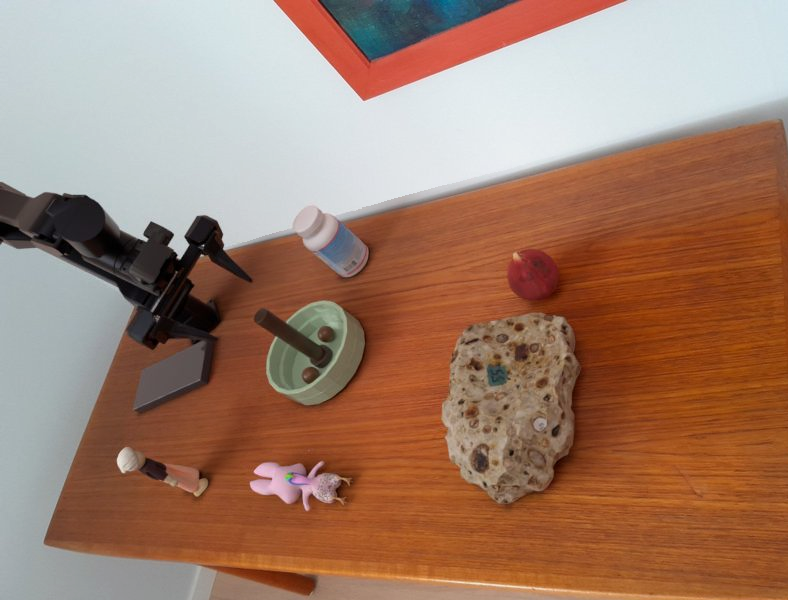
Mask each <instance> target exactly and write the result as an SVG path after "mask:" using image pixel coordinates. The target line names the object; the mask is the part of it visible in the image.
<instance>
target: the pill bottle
mask: <svg viewBox="0 0 788 600" xmlns="http://www.w3.org/2000/svg"><path fill="white" fill-rule="evenodd" d="M292 230H293V232H294V233H296V234H297V236H299V237H301V238H302V243H303V246H305V248H306V249H308V250H309V251H310V252H311V253H312V254H313V255H315V257H317V258H318V259H319V260H321V261H322V262H323V263H324V264H326V266H328V267H329V268H330V269H332V270H333V271H334V272H335V273H336V274H338V275H339V276H340V277H343V278H351V277H353V276H355V275H357V274H358V273H359V272H361V271H362V270H363V269H364V268H365V266H366V264H367V262H368V259H369V254H370V253H369V247H368V246H367V245H366V244H365V242H363V241H362V240H361V239H360V238H359V237H358V236H357V235H356V234H354V233H353V232H352V231H351V230H350V229H349V228H348V227H347V226H346V225H345V224H344V223H343V222H341V220H339V219H338V218H337V217H336V216H335V215H333V214H331V213H328V212H325V213H324V212H323V211H322V210H321V209H320V208H319V207H318V206H316V205H313V204H311V205H307V206H305V207H304V208H303V209H301V210H300V211H299V212H298V213H297V215H296V216H295V218H294V219H293V222H292Z"/></svg>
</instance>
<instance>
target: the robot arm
mask: <svg viewBox="0 0 788 600" xmlns="http://www.w3.org/2000/svg"><path fill="white" fill-rule="evenodd" d="M142 235H143V237H145V238H147V240H146V241H145V240H143V239H141V238H138V237H136V236H134V235H132V234H130V233H128V232H126V231H124V230H122V229H120V226H119V224H117V222H116V221H115V220H114V219H113V217H112V216H111V215H110V214H109V213H108V212H107V211H106V210H105V209H104V207H103V206H102V205H101V204H100V203H99V202H98V201H96V200H95V199H93V198H92V197H90V196H88V195H87V194H71V193H67V192H63V193H62V194H59V193H56V192H52V191H51V192H50V191H44V192H42V193H40V194H38V195H37V196H35V197H32V196H30V195H27V194H26V193H24V192H22V191H20V190H19V189H17V188H14V187H13V186H11V185H9V184H7V183H5V182H3V181H0V246H1V245H2V244H3V243H4V244H5V245H7V246H10V247H12V248H14V249H16V250H23V249H24V250H25V249H27V250H28V249H38V250H41V251H43V252H44V253H47V254H49V255H51V256H53V257H55V258H57V259H59V260H61V261H63V262H65V263H67V264H69V265H72V266H73V267H75V268H77V269H80V270H81V271H84V272H86V273H88V274H90V275H92V276H94V277H96V278H98V279H100V280H101V281H104V282H106V283H108V284H110V285H112V286H114V287H116V288H118V290H119V292H120V294H121V295H122V297H123V298H124V299H125V300H126V302H128V303H129V304H130V305H132V306H133V307H134V308H135V314H134V315H133V317H132V319H131V321H129V324H128V325H127V326H126V329H125V333H126V336H127V337H128V338H129V339H131V340H133V341H134V342H136V343H137V344H139V345H141V346H142V347H145V348H147V349H149V350H152V351H154V350H155V349H156V348H158V345H159V343H160V344H161V345H165V344H167V342H168V341H169V340H182V339H183V340H186V339H187V340H189V341H190V344H191V345H192V346H193V345H195V344H197V343H199V342H200V341H203V340H205V341H212V342H214V343H218V342H219V340H220V339H219V338H218V337H217V336H215V335H213V334H211V333H210V332H211V330H212V329H214V328H215V327H216V326H217V325H218V324H219V323H220V321H221V320H220V315H219V311H218V308H217V304H216V300H215V299H213V298H211V299H210V300H208V301H207V302H206V303H205V302H204V301H202V300H201V299H200V298H197V296H195V295H193V294H192V293H191V291H192V290H193V289H194V288H195V286H196V285H195V284H194V283H193V281H192V280H191V279H190V278H188V277H189V276H190V274H191V272H192V271H193V269H194V267H195V266H196V264H197V262H198V260H199V259H200V258H201V256H204V257H206V256H208V258H209V260H210V261H211V262H212V263H213V264H215V265H217V266H219V267H220V268H222V269H224V270H225V271H227V272H229V273H230V274H232V275H233V276H236V277H238V278H239V279H241V280H243V281H245V282H247V283H250V284H252V283H253V282H254V279H253V278H252V277H251V276H250V275H249V274H248V273H247V272H246V271H245V270H244V269H243V268H242V267H241V266H239V265H238V263H236V261H234V259H232V258H231V257H230V255H228V253H227V252H226V251H225V249H224V248H225V243H224V241H223V237H224V233H223V229H222V227H221V225H220V224H219V221H218V220H216V219H215V218H213V217H211V216H208V215H207V214H201V215H196V216H195V218H194V219H193V221H192V223H191V224H190V226H189V228H188V229H187V231H186V233H185V234H184V236H183V238H184V239H185V241H186V242H187V244H188V246H187V248H186V249H185V251H184V253H183V254H182V256H181V257H180V258H178V256H179V254H178V252H176V251H175V249H173V248H172V247H170V246H169V245H170V243H171V241H172V240H173V238H174V236H175V234H174V232H173V231H171V230H170V229H168V228H166V227H164V226H163V225H160V224H158V223H156V222H153V220H150V221H149V223H148V224H147V226H146V227H145V230H144V231H143V233H142Z"/></svg>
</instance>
